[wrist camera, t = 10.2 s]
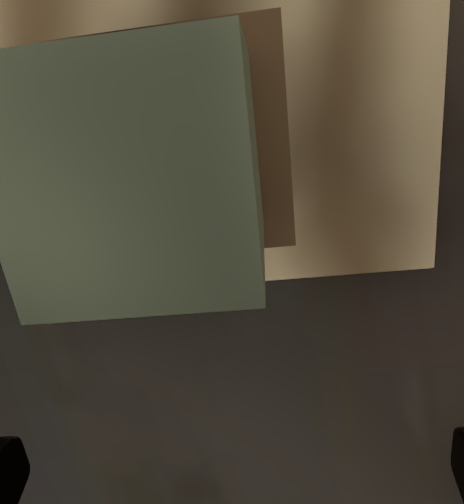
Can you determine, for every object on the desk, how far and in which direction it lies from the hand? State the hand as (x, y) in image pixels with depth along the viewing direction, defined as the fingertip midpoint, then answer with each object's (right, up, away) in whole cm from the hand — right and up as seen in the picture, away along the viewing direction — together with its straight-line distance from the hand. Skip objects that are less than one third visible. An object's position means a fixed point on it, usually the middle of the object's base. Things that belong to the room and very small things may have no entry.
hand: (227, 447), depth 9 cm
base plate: (-1, +9, +10) cm, 14 cm away
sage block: (-2, +7, +4) cm, 9 cm away
